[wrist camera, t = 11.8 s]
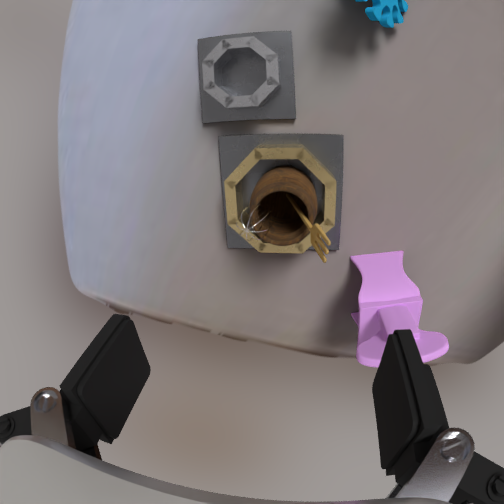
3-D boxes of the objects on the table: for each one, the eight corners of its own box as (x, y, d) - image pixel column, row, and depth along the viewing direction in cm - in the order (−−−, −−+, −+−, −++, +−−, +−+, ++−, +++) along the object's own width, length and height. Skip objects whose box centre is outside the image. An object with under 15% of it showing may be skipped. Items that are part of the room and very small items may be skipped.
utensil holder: (259, 160, 28) (233, 192, 18) (323, 170, 28) (338, 209, 17) (252, 216, 31) (226, 276, 20) (313, 226, 31) (318, 291, 20)
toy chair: (343, 319, 36) (354, 420, 23) (341, 257, 32) (361, 355, 19) (405, 311, 34) (438, 405, 21) (411, 249, 31) (464, 338, 17)
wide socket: (342, 134, 26) (348, 137, 23) (338, 247, 32) (342, 263, 29) (220, 136, 28) (209, 139, 25) (228, 245, 34) (221, 260, 30)
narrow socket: (291, 32, 23) (290, 22, 19) (295, 118, 26) (295, 119, 23) (199, 40, 24) (187, 32, 21) (204, 122, 28) (192, 124, 25)
